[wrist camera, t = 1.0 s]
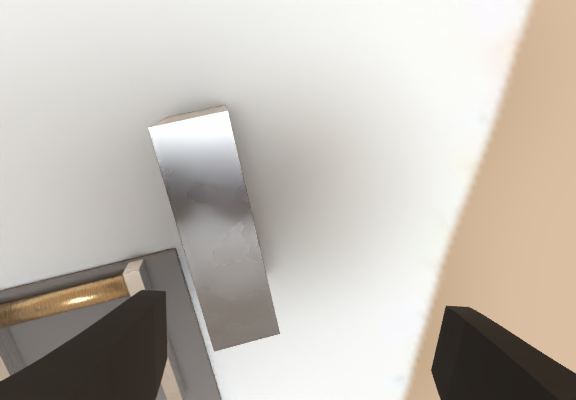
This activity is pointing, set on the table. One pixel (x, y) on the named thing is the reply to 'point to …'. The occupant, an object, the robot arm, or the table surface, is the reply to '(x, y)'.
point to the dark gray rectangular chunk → (215, 224)
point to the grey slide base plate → (62, 327)
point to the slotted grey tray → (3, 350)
